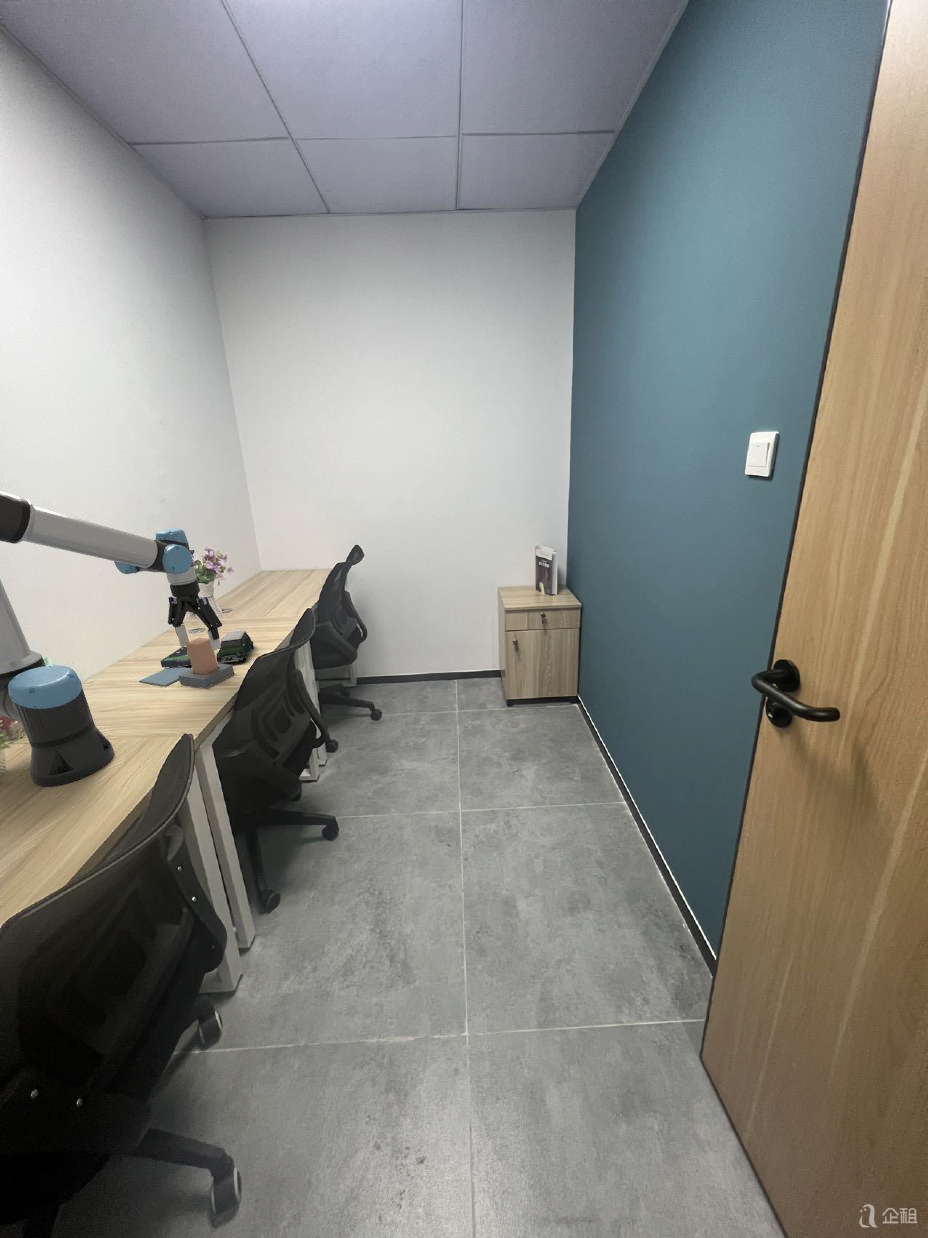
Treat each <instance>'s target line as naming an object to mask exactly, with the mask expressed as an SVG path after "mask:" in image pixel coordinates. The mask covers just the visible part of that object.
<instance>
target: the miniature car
mask: <svg viewBox="0 0 928 1238" xmlns="http://www.w3.org/2000/svg"><path fill="white" fill-rule="evenodd" d="M220 644H221V648H219V649H218V652H217V653H216V656H215V658H216V662H217V663H220V664H224V663H230V662H231V663H232V662H239V661H241V663H245V662H247V660H248V658H247V656H248V654H249V652H250V650H253V649H254V648H255V647H254V642H253V640H252V638H251V637H250V635H249V634H248V633H247V631H246V630H234V631H230V632H227V633H225V634H224V636H223V637H222V639H221V641H220Z"/></svg>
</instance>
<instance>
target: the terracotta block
mask: <svg viewBox="0 0 928 1238" xmlns="http://www.w3.org/2000/svg"><path fill="white" fill-rule="evenodd" d="M186 646H187V650H188V654H189V658H190V662H191V665H190V667H191V669H193V673H194V674H199V675H206V674H208V673H210V672H212V671H214V670H216V669H218V666H217V659H216V654H215V651H212V647H211V643H210V639H209V638H205V637H198V638H195V639H193V640H189V642H188V643H186ZM186 646H185V647H186Z"/></svg>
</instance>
